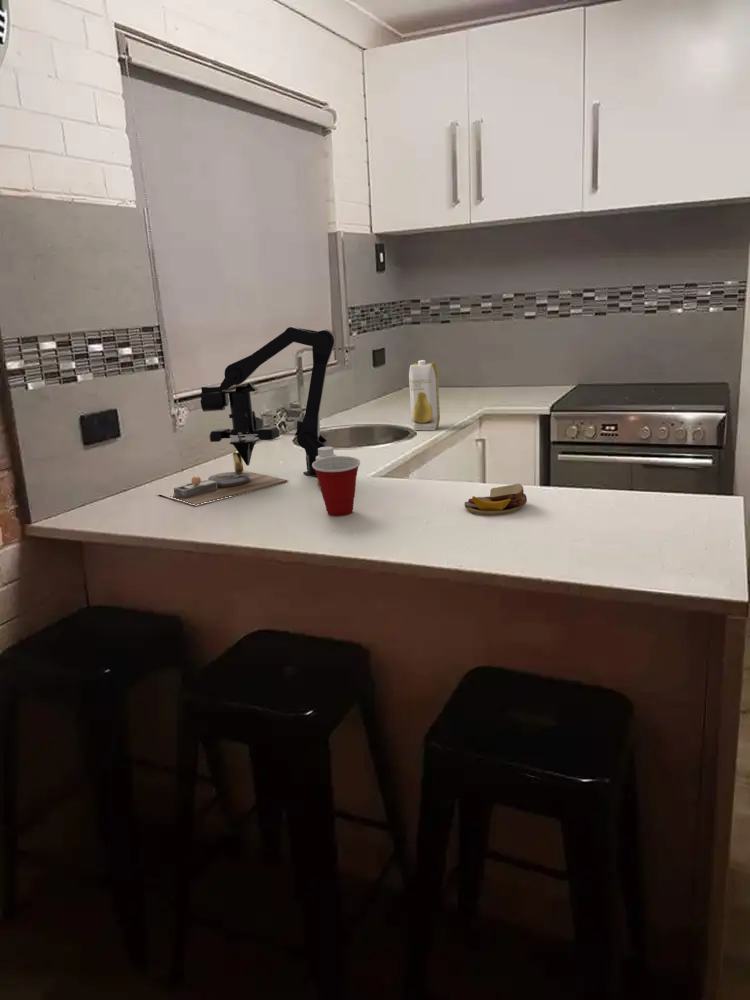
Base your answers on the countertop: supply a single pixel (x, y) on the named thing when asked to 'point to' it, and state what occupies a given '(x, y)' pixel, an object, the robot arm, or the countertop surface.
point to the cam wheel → (232, 474)
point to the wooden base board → (224, 489)
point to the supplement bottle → (325, 454)
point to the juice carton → (424, 395)
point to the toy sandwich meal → (498, 501)
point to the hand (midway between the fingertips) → (247, 465)
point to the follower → (198, 483)
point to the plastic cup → (337, 483)
